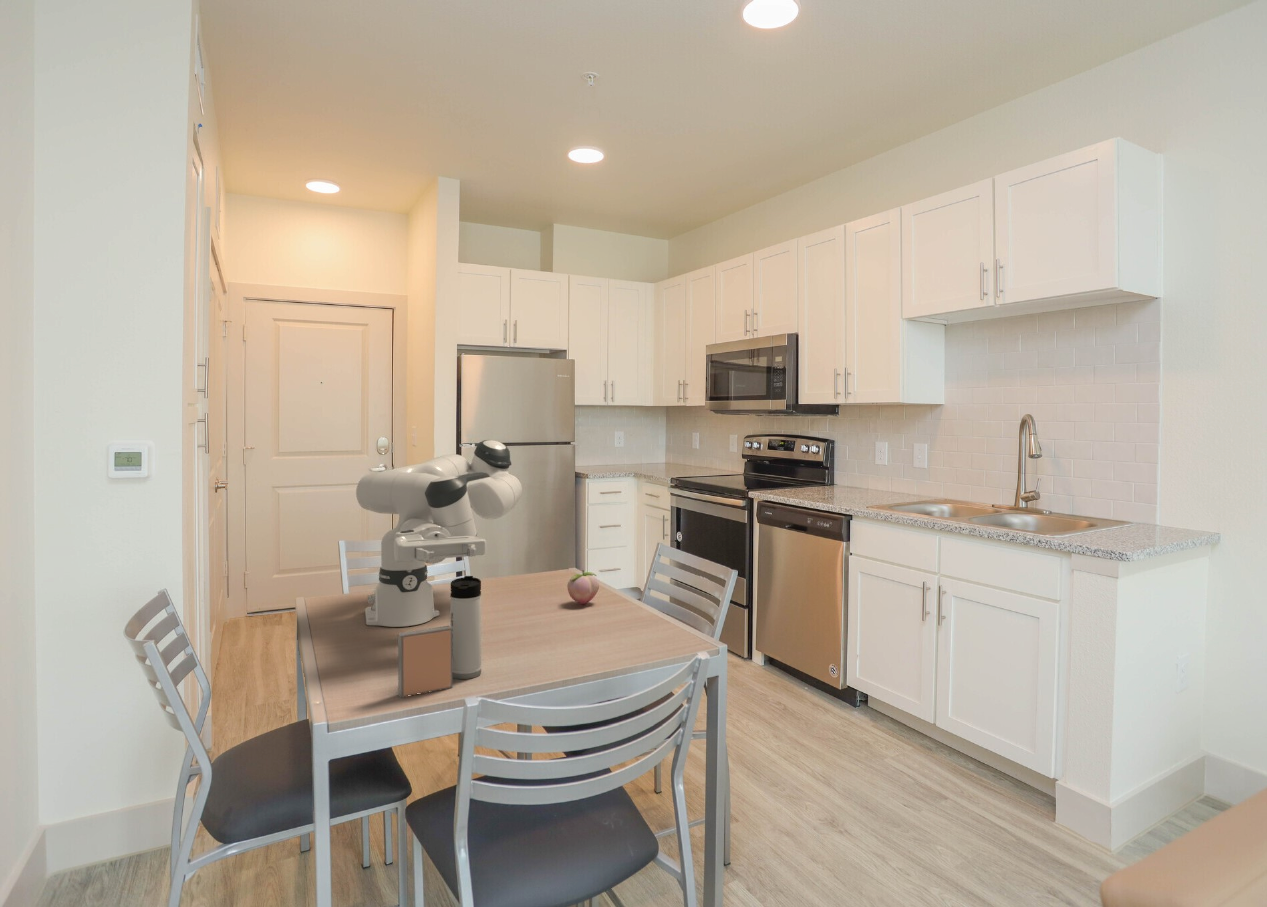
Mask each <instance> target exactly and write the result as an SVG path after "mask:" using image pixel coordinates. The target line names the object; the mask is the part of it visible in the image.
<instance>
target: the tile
mask: <svg viewBox="0 0 1267 907" xmlns="http://www.w3.org/2000/svg"><path fill="white" fill-rule="evenodd" d="M397 666H398V667H397V668H398V669H397V676H398V677H397V678H398V679H397V680H398V681H397V683H398V688H397V689H398V694H399V695H400V696H401V697H404V698H407V697H406V696H408V695H414V694H417V693H424V694H426V693H425V692H429V691H434V692H437V691H436V690H439V691H441V690H440V689H444V690H448V688H449V689H451V688H450V687H452V688H453V677H452V627H450V625H443V626H438V627H431V628H424V629H418V630H411V631H403V632H398V633H397ZM429 693H430V692H429ZM399 695H398V696H399ZM400 696H399V697H400ZM414 696H415V695H414ZM401 697H400V698H401Z"/></svg>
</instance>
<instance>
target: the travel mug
mask: <svg viewBox="0 0 1267 907" xmlns="http://www.w3.org/2000/svg"><path fill="white" fill-rule="evenodd" d="M481 590H482V580H481V579H480V578H477V577H474V576H473V575H464V577H459V578H456V579H455V578H454V579H453V580H452V581H450V597H449V598H450V603H449V604H450V606H449V608H450V609H449V610H450V611H449V613H450V616H449V617H450V618H449V619H450V624H449V626H450V627H452V678H453V679H457V680H470V679H474V678H477V677H479V676H480V675H481V674H482V591H481Z"/></svg>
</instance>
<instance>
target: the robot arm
mask: <svg viewBox="0 0 1267 907" xmlns="http://www.w3.org/2000/svg"><path fill="white" fill-rule="evenodd" d="M510 452H511V451H510V450H509V448H508V446H507V445H506V444H504V443H503V442H500V441H497V440H492V439H485V440H481V441H480V442H479V443H478V444H477V446H476V447H475V449H474V451H473V454H474V455H473V458H472V460H471V463H470V462H469V461H468V460H467V458H465V457H464V456H463V455H460V454H456V453H455V454H454V453H453V454H444V455H440V456H437V457H433V458H432V459H429V460H427V461H423V462H421V463H418V464H411V465H407V466H406V465H405V466H402V467H397V468H392V469H389V470H384V471H378V472H374V473H369V474H365V475H364V476H362V477H361V478H360V480H359V481H358V483H357V485H356V491H355V495H356V500H357V503H358V504H359V506H360V507H361V508H362V509H364V510H366V511H370V512H374V513H378V514H387V515H398V522H397V525H396V526H395V527H394V528H392V529H391V530H388V531H387V532H386V533H385V534H384V535H383V537H382V539H381V541H380V542H381V544H380V546H381V547H380V549H381V550H380V553H381V554H380V557H381V558H380V559H381V561H380V563H381V566H380V568H379V572H378V581H379V582H378V584H377V585H376V587H375V589H374V590H373V594H368V595H367V604H369V605H370V604H373V605H371V606H368V607H366V608H365V610H364V614H365V616H364V617H365V624H366V626H382V627H389V628H390V627H391V628H397V627H399V628H401V627H409V626H417V625H421V624H424V623H427V622H430V621H431V620H432V619H433V618H436V617H438V616H440V611H439V610H437V609H435V606H434V590H433V589H434V588H433V585H432V584H431V583H430V582H428V580H427V579H428V570H429V569H428V565H426V564H430V565H433V564H434V565H435V564H438V563H440V562H443V561H444V560H446V559H452V558H462V557H463V558H464V557H469V558H471V557H472V558H473V557H476V556H483V555H486V553H487V540H486V539H485V538H483V537H479V536H478V531H477V526H476V522H475V518H474V515H473V513H475V514H476V515H478V517H480V518H482V519H485V520H491V521H492V520H497V519H500V518H502V517H504V516H506V515H507V514H508V513H509V512H510V511H511V510H512V509H514V507H515V506H516V505H517V503H518V502H519V500H520V499H521V496H522V495H523V494H522V493H523V486H522V483H521V482H520V479H518V478H517V476H515V475H513V474H510V473H509V468H510V466H512V461H511V453H510Z"/></svg>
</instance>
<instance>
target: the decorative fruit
mask: <svg viewBox="0 0 1267 907" xmlns="http://www.w3.org/2000/svg"><path fill="white" fill-rule="evenodd" d="M584 571H585V570H584V569H582V573H577V574H574V575H573V576H571V577H570V579H568V582H567V592H568V594H569V596H570V598H571V599H572V600H574V601H575V602H576V603H578V604H581V605H585V604H587V603H589V602H590V601H592V599H594V598H595V596H596V595H597V594H598V591H599V588H600V583H599V581H598V579H597V578H596V577H597V574H596V573H594V572H591V571H586V572H584Z"/></svg>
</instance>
